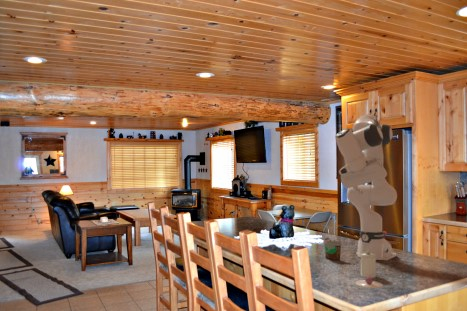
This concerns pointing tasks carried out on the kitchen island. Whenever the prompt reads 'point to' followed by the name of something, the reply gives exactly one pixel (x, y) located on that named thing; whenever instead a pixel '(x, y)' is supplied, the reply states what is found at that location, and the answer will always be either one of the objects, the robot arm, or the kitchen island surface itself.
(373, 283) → the saucer
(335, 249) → the food container
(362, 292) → the kitchen island surface
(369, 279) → the ball
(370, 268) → the lidded octagonal canister
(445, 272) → the kitchen island surface
